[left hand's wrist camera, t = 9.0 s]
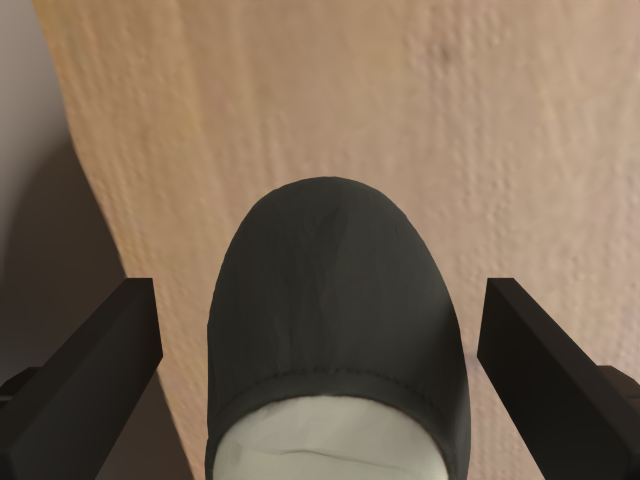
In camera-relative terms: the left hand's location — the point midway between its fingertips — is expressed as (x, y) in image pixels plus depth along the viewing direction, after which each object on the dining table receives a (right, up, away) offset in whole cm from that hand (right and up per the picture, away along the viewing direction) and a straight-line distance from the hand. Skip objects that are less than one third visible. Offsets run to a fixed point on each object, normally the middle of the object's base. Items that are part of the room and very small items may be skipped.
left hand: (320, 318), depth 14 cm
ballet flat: (+1, -7, +4) cm, 8 cm away
